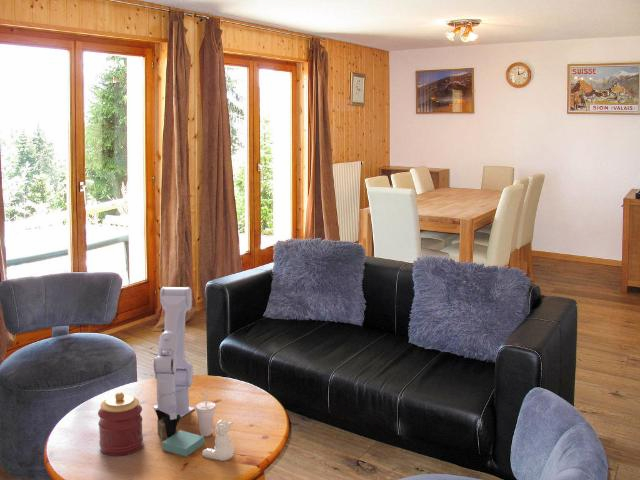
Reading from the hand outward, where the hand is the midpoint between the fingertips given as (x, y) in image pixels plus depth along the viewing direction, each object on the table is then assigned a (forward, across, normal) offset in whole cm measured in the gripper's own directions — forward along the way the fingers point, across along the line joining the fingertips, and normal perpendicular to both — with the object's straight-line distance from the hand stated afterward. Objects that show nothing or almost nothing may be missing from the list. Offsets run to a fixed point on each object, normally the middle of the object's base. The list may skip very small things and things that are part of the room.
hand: (167, 431), depth 213 cm
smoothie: (+2, +4, +11) cm, 12 cm away
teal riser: (+1, +9, +2) cm, 10 cm away
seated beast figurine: (+2, +20, +11) cm, 23 cm away
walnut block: (+2, 0, 0) cm, 2 cm away
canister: (+2, 0, -14) cm, 15 cm away
